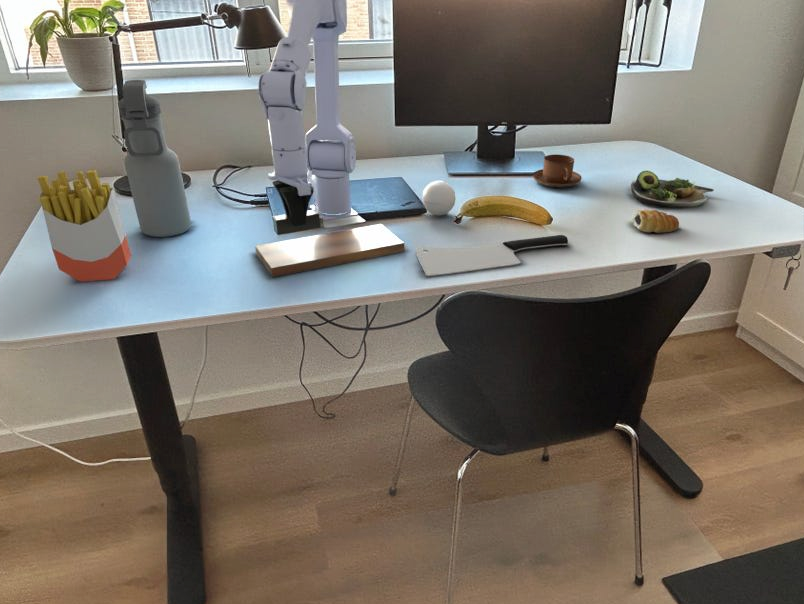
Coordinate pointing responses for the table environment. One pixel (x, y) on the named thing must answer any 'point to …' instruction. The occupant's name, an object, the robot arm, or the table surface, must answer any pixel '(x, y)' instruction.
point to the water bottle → (152, 165)
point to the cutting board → (328, 249)
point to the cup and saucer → (557, 172)
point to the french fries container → (84, 227)
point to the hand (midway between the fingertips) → (296, 222)
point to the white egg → (438, 198)
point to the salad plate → (667, 191)
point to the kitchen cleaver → (480, 255)
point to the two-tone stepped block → (311, 222)
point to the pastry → (655, 221)
